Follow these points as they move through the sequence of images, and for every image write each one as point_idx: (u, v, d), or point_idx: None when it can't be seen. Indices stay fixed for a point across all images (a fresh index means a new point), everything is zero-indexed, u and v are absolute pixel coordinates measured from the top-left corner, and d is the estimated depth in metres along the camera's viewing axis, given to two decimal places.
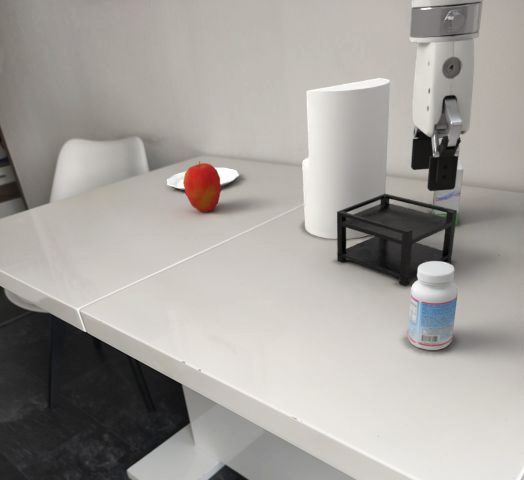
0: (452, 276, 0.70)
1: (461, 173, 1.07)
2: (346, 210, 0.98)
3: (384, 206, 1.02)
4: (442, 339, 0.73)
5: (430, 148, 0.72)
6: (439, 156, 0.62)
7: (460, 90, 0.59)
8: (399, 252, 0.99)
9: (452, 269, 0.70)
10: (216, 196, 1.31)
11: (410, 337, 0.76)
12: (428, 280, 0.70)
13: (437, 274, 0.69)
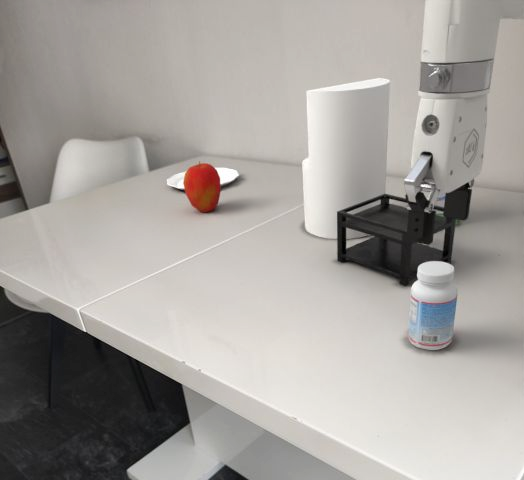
0: (452, 276, 0.70)
1: None
2: (346, 210, 0.98)
3: (384, 206, 1.02)
4: (442, 339, 0.73)
5: (461, 199, 0.69)
6: (411, 209, 0.62)
7: (436, 148, 0.58)
8: (399, 252, 0.99)
9: (452, 269, 0.70)
10: (216, 196, 1.31)
11: (410, 337, 0.76)
12: (428, 279, 0.70)
13: (437, 274, 0.69)
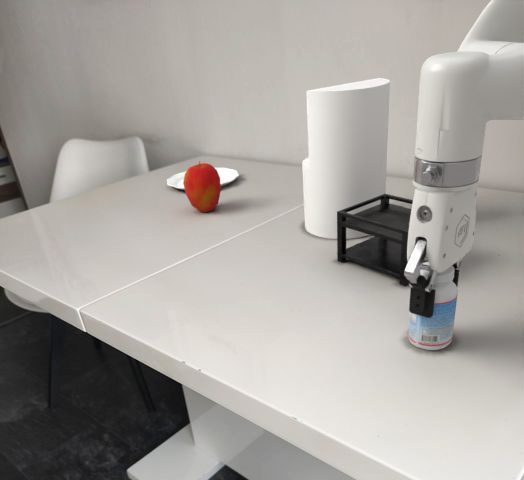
0: (452, 276, 0.70)
1: None
2: (346, 210, 0.98)
3: (384, 206, 1.02)
4: (442, 339, 0.73)
5: None
6: (413, 287, 0.69)
7: (430, 235, 0.64)
8: (399, 252, 0.99)
9: (452, 269, 0.70)
10: (216, 196, 1.31)
11: (410, 337, 0.76)
12: None
13: (437, 274, 0.69)
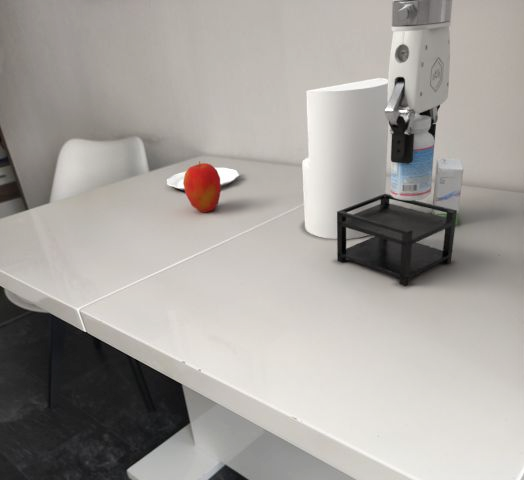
0: (429, 124, 0.77)
1: (461, 173, 1.07)
2: (346, 210, 0.98)
3: (384, 206, 1.02)
4: (421, 188, 0.80)
5: None
6: (393, 133, 0.76)
7: (407, 73, 0.70)
8: (399, 252, 0.99)
9: (429, 118, 0.77)
10: (216, 196, 1.31)
11: (392, 191, 0.82)
12: None
13: (415, 121, 0.76)
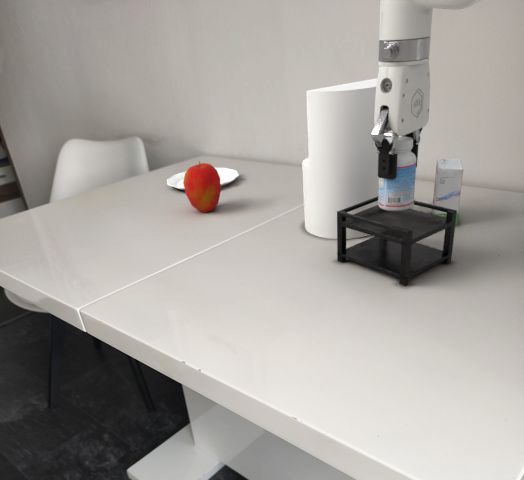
0: (411, 144, 0.87)
1: (461, 173, 1.07)
2: (346, 210, 0.98)
3: None
4: (404, 200, 0.91)
5: None
6: (379, 152, 0.87)
7: (391, 102, 0.81)
8: (399, 252, 0.99)
9: (411, 139, 0.87)
10: (216, 196, 1.31)
11: (379, 202, 0.93)
12: None
13: (399, 142, 0.87)
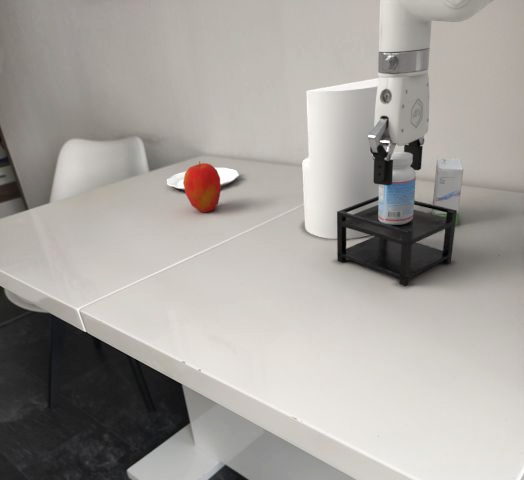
0: (410, 160, 0.89)
1: (461, 173, 1.07)
2: (346, 210, 0.98)
3: None
4: (404, 214, 0.92)
5: (415, 154, 0.92)
6: (375, 158, 0.86)
7: (390, 113, 0.82)
8: (399, 252, 0.99)
9: (410, 155, 0.89)
10: (216, 196, 1.31)
11: (379, 216, 0.95)
12: None
13: (398, 158, 0.88)
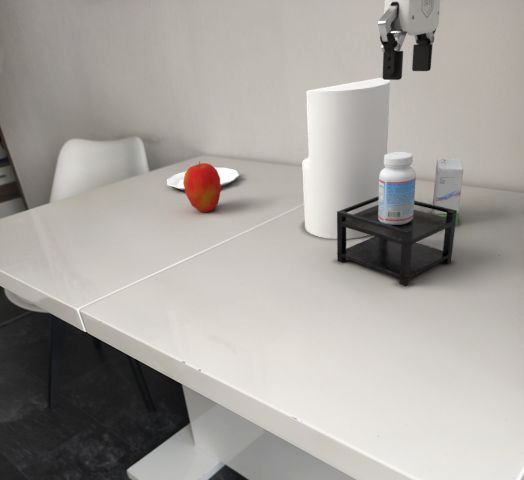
0: (410, 160, 0.89)
1: (461, 173, 1.07)
2: (346, 210, 0.98)
3: None
4: (404, 214, 0.92)
5: (424, 53, 0.90)
6: (385, 50, 0.84)
7: None
8: (399, 252, 0.99)
9: (410, 155, 0.89)
10: (216, 196, 1.31)
11: (379, 216, 0.95)
12: (392, 163, 0.89)
13: (398, 158, 0.88)
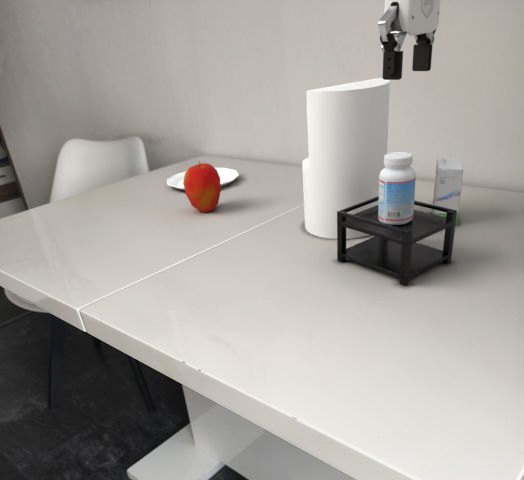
0: (410, 160, 0.89)
1: (461, 173, 1.07)
2: (346, 210, 0.98)
3: None
4: (404, 214, 0.92)
5: (424, 53, 0.90)
6: (384, 50, 0.84)
7: None
8: (399, 252, 0.99)
9: (410, 155, 0.89)
10: (216, 196, 1.31)
11: (379, 216, 0.95)
12: (392, 163, 0.89)
13: (398, 158, 0.88)
